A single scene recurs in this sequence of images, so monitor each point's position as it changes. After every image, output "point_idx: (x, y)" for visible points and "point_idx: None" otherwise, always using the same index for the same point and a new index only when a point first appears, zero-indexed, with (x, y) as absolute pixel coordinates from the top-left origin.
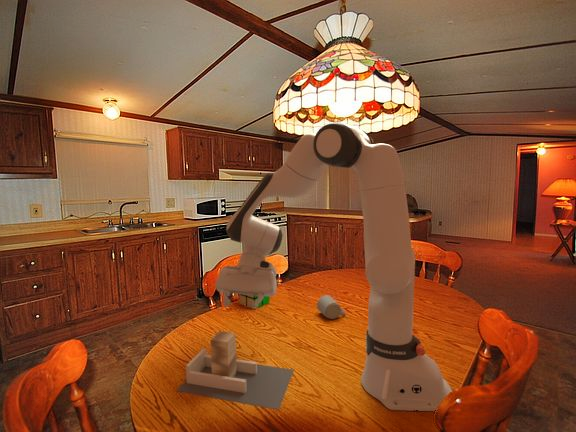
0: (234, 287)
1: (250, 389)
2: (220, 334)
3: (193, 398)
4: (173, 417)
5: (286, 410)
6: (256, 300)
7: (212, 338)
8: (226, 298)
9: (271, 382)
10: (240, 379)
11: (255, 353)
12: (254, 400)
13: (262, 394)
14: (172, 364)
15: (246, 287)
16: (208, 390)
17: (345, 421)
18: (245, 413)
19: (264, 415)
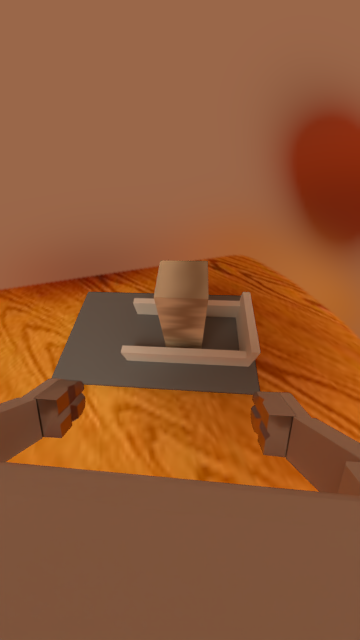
0: (286, 517)
1: (131, 316)
2: (195, 285)
3: (211, 293)
4: (216, 267)
5: (79, 296)
6: (20, 400)
7: (206, 266)
8: (292, 416)
9: (98, 337)
10: (143, 302)
11: (145, 445)
12: (122, 299)
13: (111, 310)
14: (316, 360)
15: (39, 507)
16: None
17: (8, 294)
18: (132, 285)
19: (108, 286)
